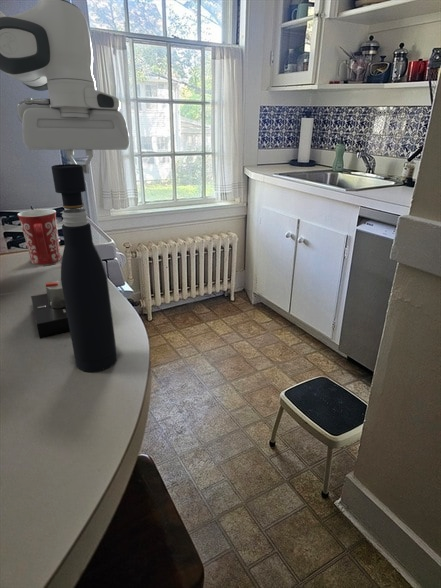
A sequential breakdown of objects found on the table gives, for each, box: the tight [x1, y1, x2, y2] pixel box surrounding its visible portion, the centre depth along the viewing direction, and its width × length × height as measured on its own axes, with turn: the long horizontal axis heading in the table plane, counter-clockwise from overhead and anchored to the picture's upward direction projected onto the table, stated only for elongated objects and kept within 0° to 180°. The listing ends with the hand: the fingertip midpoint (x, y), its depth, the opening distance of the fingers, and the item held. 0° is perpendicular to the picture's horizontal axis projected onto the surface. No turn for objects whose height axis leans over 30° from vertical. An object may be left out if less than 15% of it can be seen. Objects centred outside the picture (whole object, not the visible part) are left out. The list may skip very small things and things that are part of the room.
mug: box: [17, 208, 62, 267], centre depth 101 cm, size 13×9×14 cm
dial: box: [45, 279, 66, 309], centre depth 74 cm, size 4×4×4 cm
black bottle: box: [51, 163, 118, 373], centre depth 57 cm, size 6×6×30 cm
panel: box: [30, 293, 70, 340], centre depth 76 cm, size 13×10×3 cm
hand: (82, 173), depth 81 cm, fingers closed
